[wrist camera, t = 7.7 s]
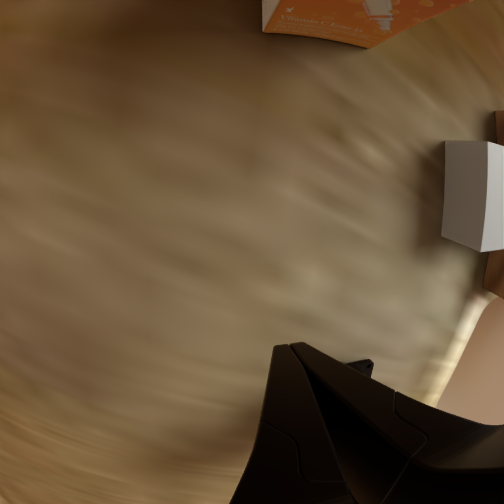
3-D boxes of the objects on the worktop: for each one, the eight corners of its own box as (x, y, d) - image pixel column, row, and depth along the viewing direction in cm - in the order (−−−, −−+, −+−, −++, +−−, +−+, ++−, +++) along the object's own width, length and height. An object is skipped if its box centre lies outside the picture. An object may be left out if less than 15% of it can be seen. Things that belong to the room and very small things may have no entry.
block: (490, 232, 23) (526, 245, 19) (439, 235, 22) (480, 252, 18) (494, 152, 21) (533, 156, 16) (443, 140, 20) (487, 141, 15)
